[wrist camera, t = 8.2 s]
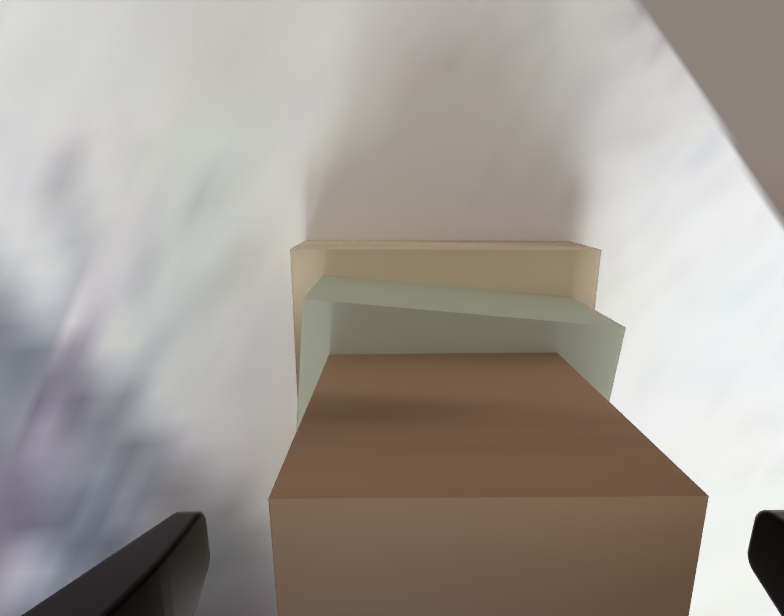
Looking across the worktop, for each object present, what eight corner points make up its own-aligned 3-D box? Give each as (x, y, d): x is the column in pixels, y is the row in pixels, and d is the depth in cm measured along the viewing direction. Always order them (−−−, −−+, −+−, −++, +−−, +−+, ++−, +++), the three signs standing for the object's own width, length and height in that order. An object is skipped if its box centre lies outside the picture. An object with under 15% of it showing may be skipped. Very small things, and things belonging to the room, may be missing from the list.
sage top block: (531, 512, 15) (567, 592, 12) (310, 495, 14) (290, 571, 11) (572, 297, 13) (625, 327, 10) (322, 275, 13) (302, 298, 10)
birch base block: (541, 463, 18) (571, 517, 15) (318, 463, 18) (303, 517, 15) (561, 239, 16) (601, 249, 13) (308, 238, 15) (290, 248, 13)
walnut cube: (542, 547, 11) (655, 812, 6) (337, 548, 11) (294, 813, 6) (556, 352, 10) (708, 495, 5) (329, 354, 10) (268, 498, 5)
